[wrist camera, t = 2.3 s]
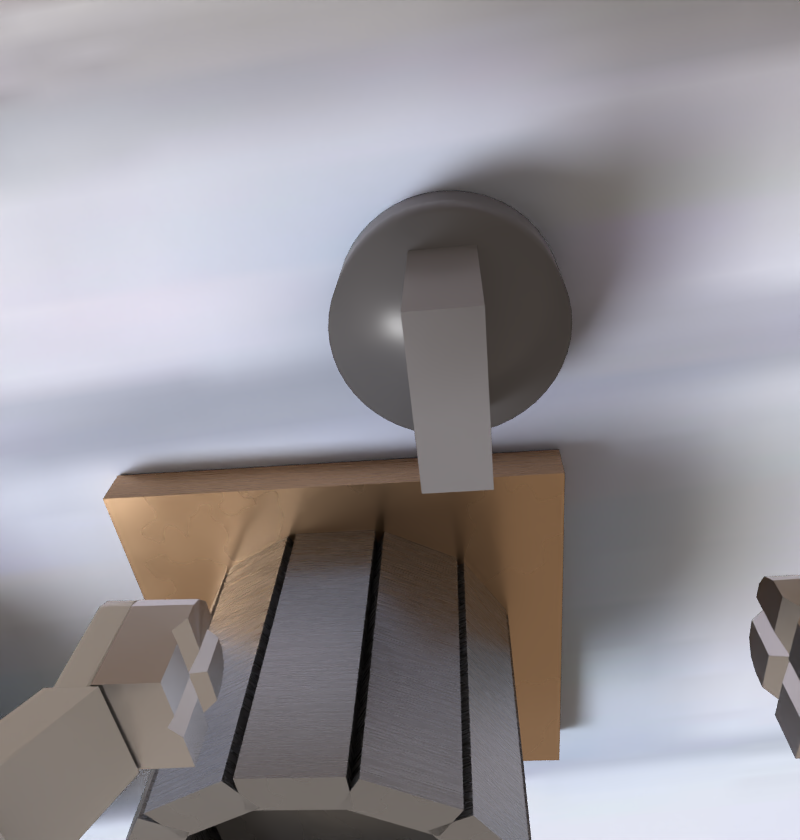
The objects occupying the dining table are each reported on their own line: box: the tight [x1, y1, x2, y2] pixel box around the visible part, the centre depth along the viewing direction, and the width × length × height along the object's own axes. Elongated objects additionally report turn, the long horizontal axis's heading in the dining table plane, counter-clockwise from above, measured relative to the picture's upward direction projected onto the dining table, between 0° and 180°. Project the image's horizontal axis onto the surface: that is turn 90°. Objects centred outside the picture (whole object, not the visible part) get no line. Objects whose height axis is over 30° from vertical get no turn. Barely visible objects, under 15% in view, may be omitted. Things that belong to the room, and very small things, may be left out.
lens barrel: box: [103, 450, 565, 840], centre depth 22 cm, size 14×14×9 cm
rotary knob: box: [328, 191, 572, 494], centre depth 17 cm, size 6×6×6 cm
